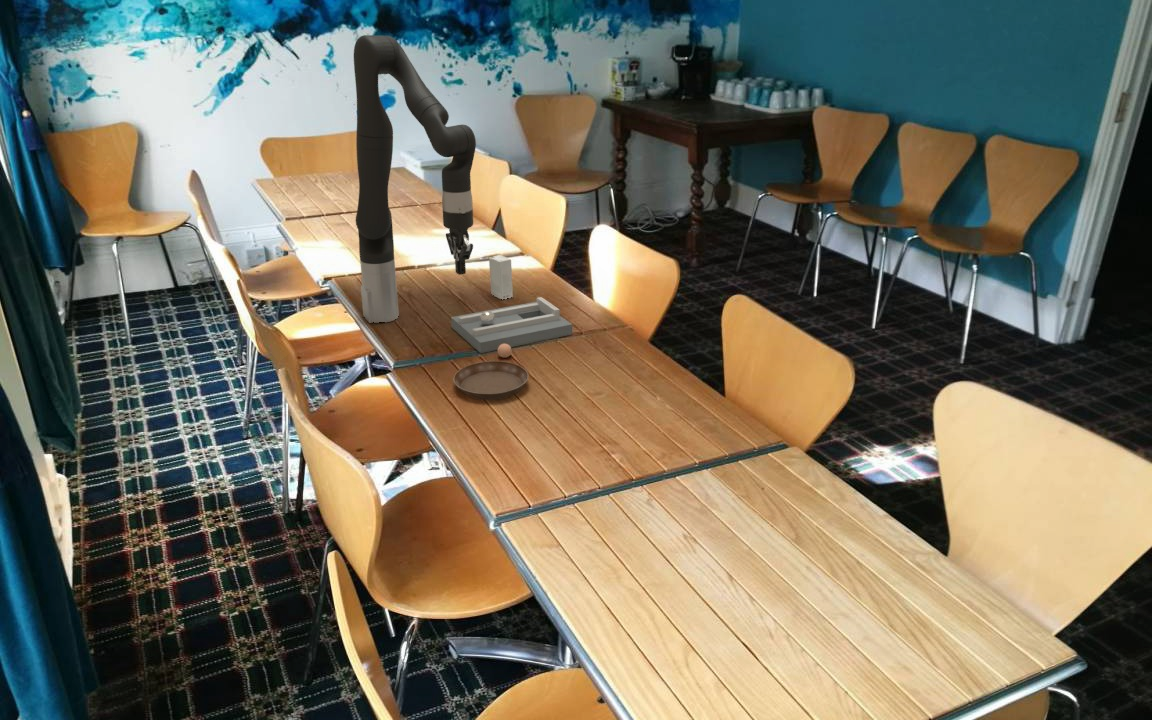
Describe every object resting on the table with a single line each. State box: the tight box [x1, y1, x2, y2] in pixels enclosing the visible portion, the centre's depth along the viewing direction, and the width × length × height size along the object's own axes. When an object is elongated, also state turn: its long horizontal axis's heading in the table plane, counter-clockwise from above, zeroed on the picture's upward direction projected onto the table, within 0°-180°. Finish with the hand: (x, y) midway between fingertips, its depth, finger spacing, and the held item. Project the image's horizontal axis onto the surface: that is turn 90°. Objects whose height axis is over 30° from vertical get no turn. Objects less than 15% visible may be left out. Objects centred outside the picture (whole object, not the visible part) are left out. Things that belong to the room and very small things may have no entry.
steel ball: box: [480, 310, 495, 326], centre depth 236 cm, size 4×4×4 cm
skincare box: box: [488, 254, 514, 301], centre depth 263 cm, size 6×4×12 cm
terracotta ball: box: [496, 344, 513, 359], centre depth 224 cm, size 4×4×4 cm
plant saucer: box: [452, 360, 529, 401], centre depth 209 cm, size 18×18×3 cm
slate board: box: [450, 296, 573, 354], centre depth 240 cm, size 27×20×6 cm
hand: (460, 273), depth 227 cm, fingers closed
